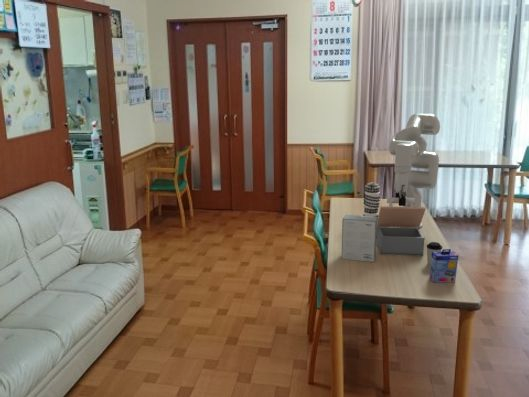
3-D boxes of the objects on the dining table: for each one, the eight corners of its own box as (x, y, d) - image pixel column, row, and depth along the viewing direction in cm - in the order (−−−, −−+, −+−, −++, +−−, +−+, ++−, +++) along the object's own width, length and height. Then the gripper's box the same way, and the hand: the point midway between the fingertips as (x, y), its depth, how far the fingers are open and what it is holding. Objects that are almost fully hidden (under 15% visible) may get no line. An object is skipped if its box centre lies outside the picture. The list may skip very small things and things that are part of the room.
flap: (376, 226, 257) (375, 213, 262) (419, 227, 255) (417, 213, 260) (380, 208, 244) (379, 194, 249) (425, 209, 242) (423, 194, 247)
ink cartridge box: (433, 283, 213) (436, 250, 209) (428, 277, 218) (431, 246, 215) (456, 282, 214) (459, 249, 210) (450, 276, 219) (453, 245, 215)
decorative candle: (362, 223, 292) (364, 181, 285) (379, 224, 289) (381, 182, 283) (361, 228, 283) (363, 184, 277) (378, 229, 281) (380, 185, 274)
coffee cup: (438, 268, 228) (440, 247, 225) (423, 265, 231) (424, 244, 229) (442, 263, 234) (444, 243, 231) (427, 260, 237) (428, 240, 235)
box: (376, 243, 259) (377, 226, 257) (416, 244, 258) (418, 227, 255) (380, 254, 245) (381, 236, 243) (423, 255, 243) (424, 237, 241)
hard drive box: (376, 256, 242) (378, 216, 237) (374, 262, 235) (376, 221, 230) (343, 253, 247) (345, 213, 242) (340, 258, 240) (342, 218, 235)
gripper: (391, 165, 255) (389, 198, 259) (397, 172, 238) (395, 207, 243) (407, 165, 254) (404, 198, 259) (414, 172, 238) (411, 208, 242)
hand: (400, 203), depth 251 cm, fingers open, 9 cm apart
